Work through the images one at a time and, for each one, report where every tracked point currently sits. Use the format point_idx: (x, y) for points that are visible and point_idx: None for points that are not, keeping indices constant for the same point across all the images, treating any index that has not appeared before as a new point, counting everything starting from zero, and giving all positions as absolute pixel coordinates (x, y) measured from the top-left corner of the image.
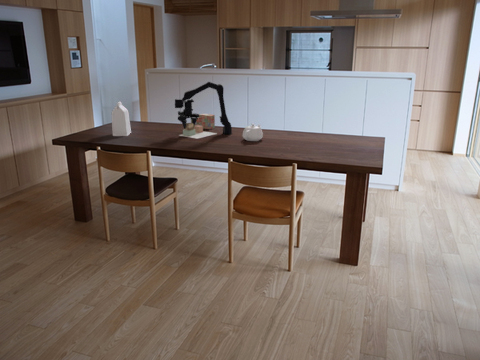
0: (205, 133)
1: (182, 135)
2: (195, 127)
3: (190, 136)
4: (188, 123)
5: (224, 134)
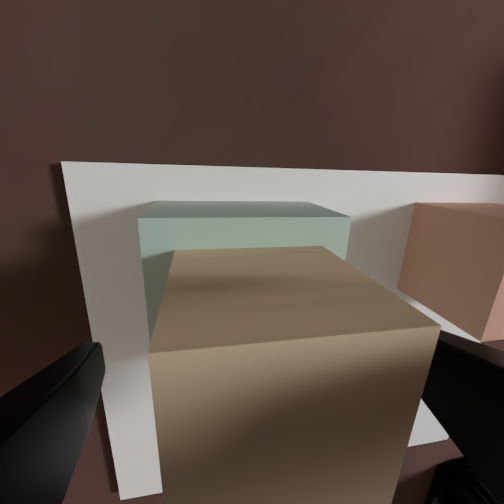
0: None
1: (113, 229)
2: (485, 249)
3: None
4: (285, 443)
5: (434, 493)
